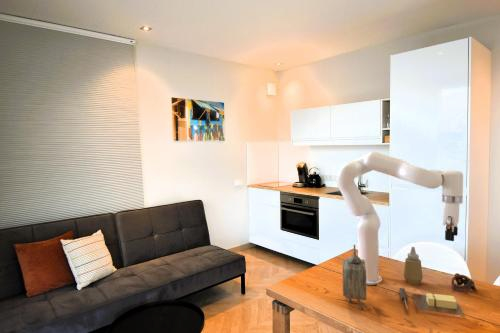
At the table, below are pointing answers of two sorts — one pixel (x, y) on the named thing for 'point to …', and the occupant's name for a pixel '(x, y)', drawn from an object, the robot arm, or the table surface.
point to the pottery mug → (459, 279)
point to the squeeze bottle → (413, 268)
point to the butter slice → (430, 299)
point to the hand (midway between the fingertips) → (451, 237)
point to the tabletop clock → (354, 278)
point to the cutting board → (423, 305)
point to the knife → (403, 296)
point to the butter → (445, 301)
